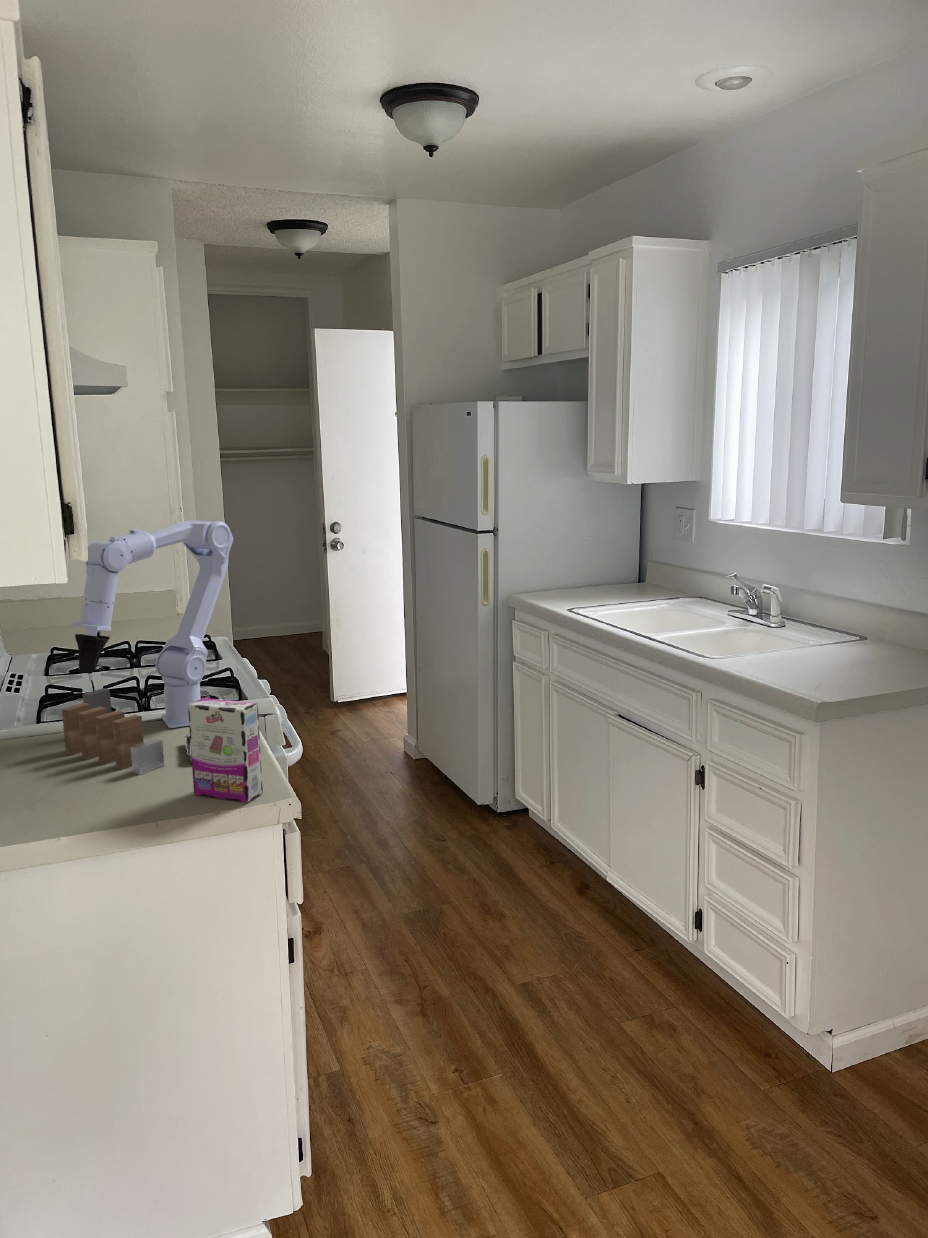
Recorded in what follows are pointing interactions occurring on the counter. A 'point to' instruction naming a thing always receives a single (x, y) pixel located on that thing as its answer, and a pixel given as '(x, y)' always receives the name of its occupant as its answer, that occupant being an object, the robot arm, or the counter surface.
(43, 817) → the counter surface
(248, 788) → the candy bar box
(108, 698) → the domino
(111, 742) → the domino
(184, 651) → the robot arm
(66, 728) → the domino
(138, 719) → the domino
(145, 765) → the block
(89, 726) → the domino
